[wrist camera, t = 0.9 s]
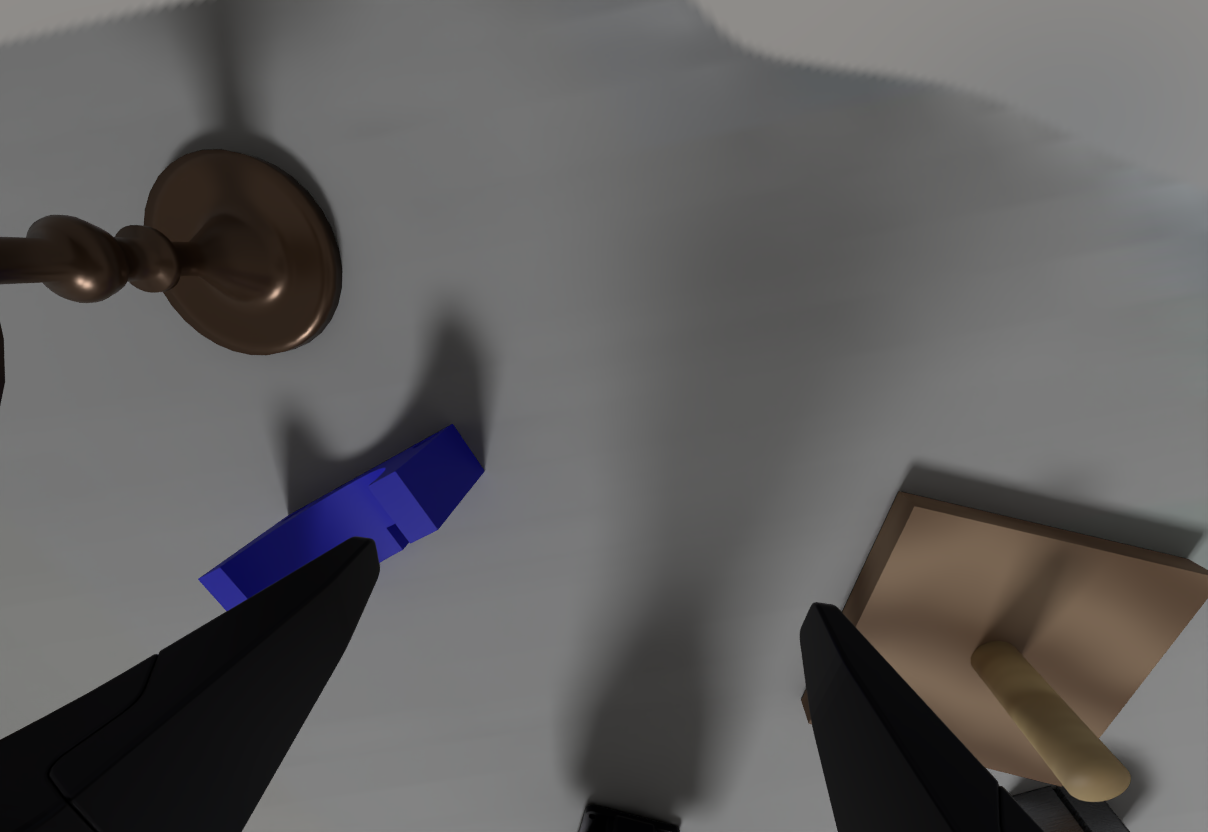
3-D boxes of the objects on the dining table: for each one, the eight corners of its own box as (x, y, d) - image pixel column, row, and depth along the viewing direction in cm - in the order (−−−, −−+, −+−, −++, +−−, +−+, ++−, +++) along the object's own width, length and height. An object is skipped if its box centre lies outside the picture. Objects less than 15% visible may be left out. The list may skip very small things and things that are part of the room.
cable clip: (338, 573, 29) (261, 650, 23) (290, 513, 28) (197, 579, 22) (501, 492, 26) (458, 557, 20) (454, 422, 25) (395, 471, 19)
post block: (1040, 759, 28) (1172, 932, 21) (801, 700, 28) (850, 849, 21) (1187, 559, 23) (1423, 692, 16) (898, 491, 24) (1003, 592, 16)
